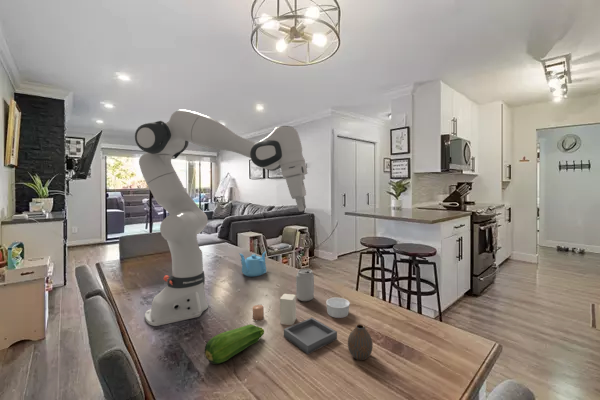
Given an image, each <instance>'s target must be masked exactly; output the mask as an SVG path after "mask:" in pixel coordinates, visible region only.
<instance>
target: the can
mask: <svg viewBox="0 0 600 400" xmlns="http://www.w3.org/2000/svg"><path fill="white" fill-rule="evenodd" d="M295 288H296V289H295V293H296V294H295V295H296V299H297V300H298V301H300V302H310V301H312V300H313V299H314V297H315V274H314V273H313V270H312V269H310V268H300V269H298V270H297V273H296V274H295Z"/></svg>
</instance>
